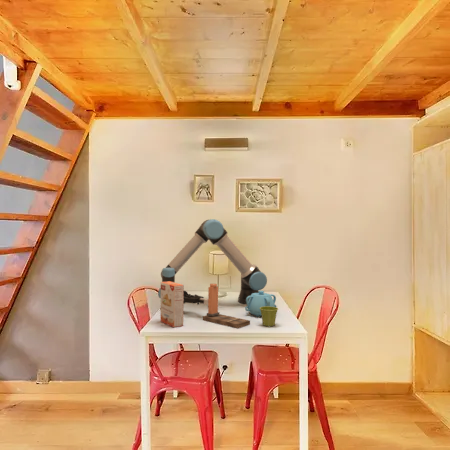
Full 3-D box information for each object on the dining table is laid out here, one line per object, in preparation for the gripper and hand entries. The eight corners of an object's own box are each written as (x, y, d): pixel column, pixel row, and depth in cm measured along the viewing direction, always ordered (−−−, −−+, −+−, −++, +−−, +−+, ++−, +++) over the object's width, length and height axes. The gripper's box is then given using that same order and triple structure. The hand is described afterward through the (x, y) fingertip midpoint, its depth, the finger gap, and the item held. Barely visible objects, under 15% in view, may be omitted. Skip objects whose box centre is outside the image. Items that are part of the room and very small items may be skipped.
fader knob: (219, 314, 205) (219, 283, 205) (212, 316, 200) (212, 285, 200) (213, 313, 207) (214, 283, 207) (206, 315, 203) (206, 284, 203)
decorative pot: (241, 315, 213) (241, 291, 213) (254, 310, 227) (254, 287, 227) (268, 319, 205) (268, 294, 205) (279, 313, 218) (279, 290, 218)
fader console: (250, 324, 194) (250, 320, 194) (238, 328, 186) (238, 324, 186) (214, 316, 209) (215, 312, 209) (202, 320, 202) (202, 316, 202)
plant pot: (258, 322, 198) (258, 306, 198) (275, 322, 198) (275, 306, 198) (261, 327, 188) (261, 310, 188) (279, 327, 189) (280, 310, 189)
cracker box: (159, 321, 197) (160, 281, 197) (169, 320, 201) (170, 280, 201) (173, 327, 186) (173, 285, 186) (183, 326, 190) (184, 284, 190)
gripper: (187, 301, 225) (217, 307, 210) (170, 304, 215) (200, 311, 200) (187, 288, 225) (217, 293, 210) (171, 291, 215) (201, 297, 200)
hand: (209, 302), depth 205 cm, fingers closed
